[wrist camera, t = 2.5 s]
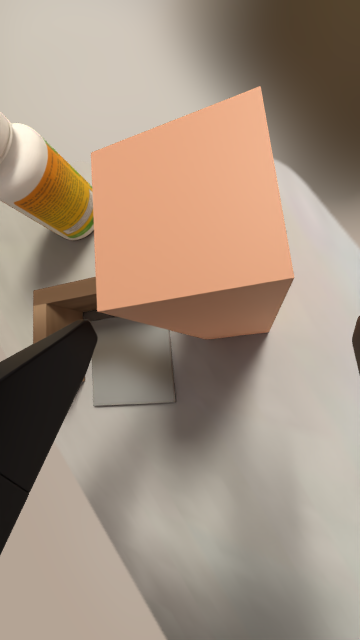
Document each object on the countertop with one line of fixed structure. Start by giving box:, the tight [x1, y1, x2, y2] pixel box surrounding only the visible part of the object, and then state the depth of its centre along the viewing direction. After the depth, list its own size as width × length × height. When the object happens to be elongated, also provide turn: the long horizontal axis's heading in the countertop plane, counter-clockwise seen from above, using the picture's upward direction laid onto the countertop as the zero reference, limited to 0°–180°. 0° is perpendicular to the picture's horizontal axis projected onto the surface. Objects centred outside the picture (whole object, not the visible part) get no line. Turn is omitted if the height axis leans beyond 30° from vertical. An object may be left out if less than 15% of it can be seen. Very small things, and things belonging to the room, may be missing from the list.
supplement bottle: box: [0, 112, 94, 240], centre depth 19 cm, size 5×5×10 cm
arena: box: [33, 277, 176, 406], centre depth 18 cm, size 9×9×4 cm
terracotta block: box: [91, 87, 294, 340], centre depth 12 cm, size 4×4×13 cm
